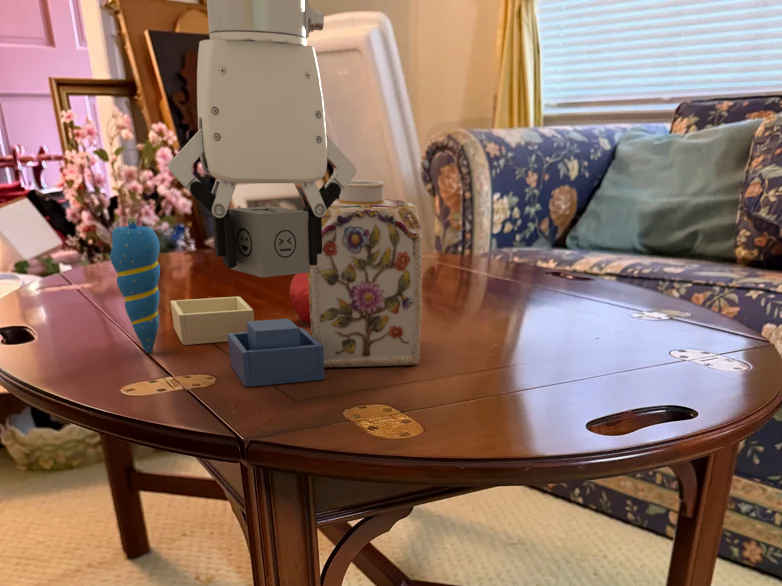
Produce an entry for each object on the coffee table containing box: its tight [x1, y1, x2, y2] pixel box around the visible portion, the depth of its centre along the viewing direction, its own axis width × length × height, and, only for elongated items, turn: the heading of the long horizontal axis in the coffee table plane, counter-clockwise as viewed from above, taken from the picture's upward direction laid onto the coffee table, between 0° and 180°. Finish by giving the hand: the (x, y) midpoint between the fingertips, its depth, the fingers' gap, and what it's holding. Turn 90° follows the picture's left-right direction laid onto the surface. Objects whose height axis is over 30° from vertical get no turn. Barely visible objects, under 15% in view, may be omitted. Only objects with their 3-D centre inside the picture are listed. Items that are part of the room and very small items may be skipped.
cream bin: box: [170, 296, 255, 346], centre depth 94 cm, size 9×9×4 cm
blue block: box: [247, 318, 300, 350], centre depth 79 cm, size 4×4×4 cm
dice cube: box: [228, 205, 310, 279], centre depth 67 cm, size 5×5×5 cm
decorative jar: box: [307, 179, 424, 369], centre depth 83 cm, size 12×12×18 cm
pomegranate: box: [289, 273, 311, 326], centre depth 99 cm, size 10×10×9 cm
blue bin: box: [227, 327, 325, 388], centre depth 80 cm, size 8×8×4 cm
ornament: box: [109, 210, 161, 354], centre depth 83 cm, size 5×5×15 cm
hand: (270, 262), depth 68 cm, fingers closed on dice cube, 6 cm apart
